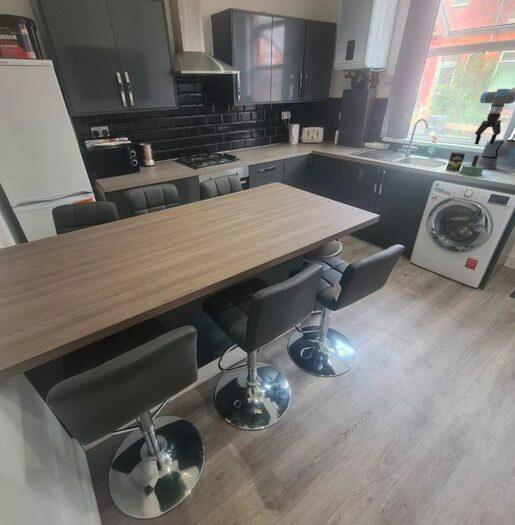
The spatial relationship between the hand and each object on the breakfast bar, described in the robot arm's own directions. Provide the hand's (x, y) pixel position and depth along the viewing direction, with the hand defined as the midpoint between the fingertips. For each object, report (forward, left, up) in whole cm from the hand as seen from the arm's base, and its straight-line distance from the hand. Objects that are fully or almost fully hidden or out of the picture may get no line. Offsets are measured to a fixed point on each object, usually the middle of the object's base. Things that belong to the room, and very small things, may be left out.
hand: (483, 144), depth 225 cm
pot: (-4, -3, -24) cm, 25 cm away
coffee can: (-6, -18, -24) cm, 31 cm away
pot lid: (-4, -3, -18) cm, 19 cm away
